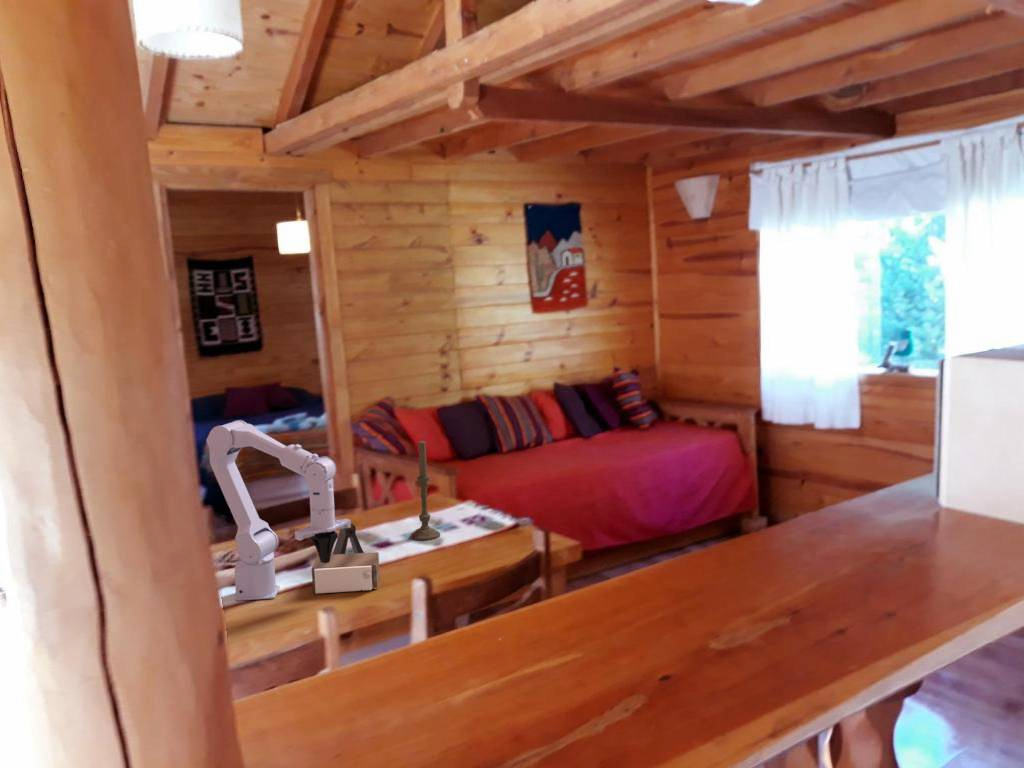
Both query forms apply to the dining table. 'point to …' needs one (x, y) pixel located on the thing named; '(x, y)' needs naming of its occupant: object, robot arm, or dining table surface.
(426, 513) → the candlestick holder
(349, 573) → the door
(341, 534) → the dark grey a-frame stand
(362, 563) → the cabinet
